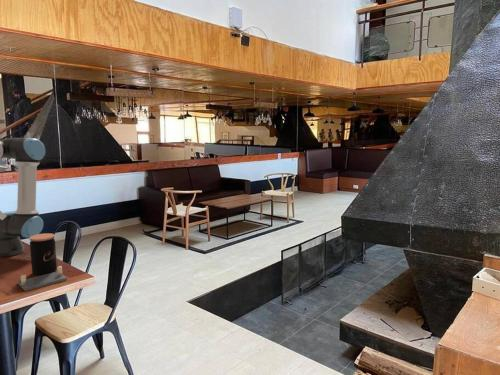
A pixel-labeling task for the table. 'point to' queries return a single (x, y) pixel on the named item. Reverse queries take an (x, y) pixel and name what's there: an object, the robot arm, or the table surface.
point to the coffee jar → (43, 254)
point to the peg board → (42, 280)
